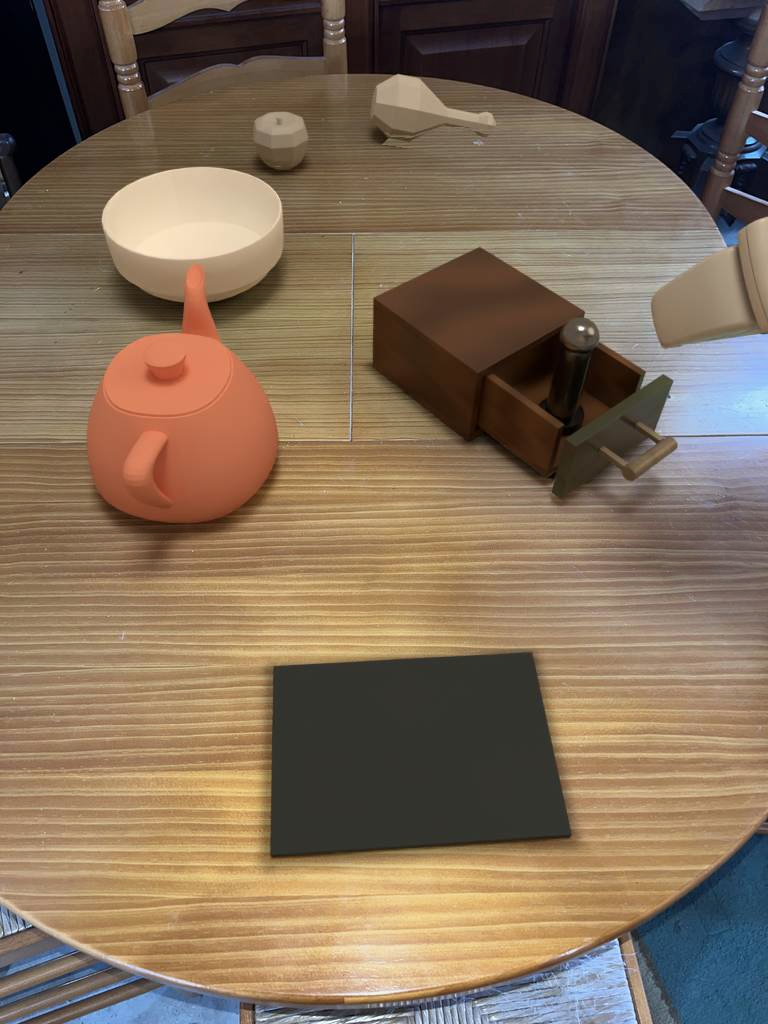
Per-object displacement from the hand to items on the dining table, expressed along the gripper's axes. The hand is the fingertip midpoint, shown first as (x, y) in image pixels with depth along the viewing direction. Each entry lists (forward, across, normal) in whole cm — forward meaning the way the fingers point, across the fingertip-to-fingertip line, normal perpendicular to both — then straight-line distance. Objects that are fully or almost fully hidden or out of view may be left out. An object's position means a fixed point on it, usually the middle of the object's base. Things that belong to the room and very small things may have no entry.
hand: (716, 331), depth 63 cm
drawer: (+17, +4, +5) cm, 18 cm away
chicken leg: (+56, -9, -47) cm, 73 cm away
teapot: (+28, +38, -1) cm, 47 cm away
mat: (+6, +29, +26) cm, 39 cm away
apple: (+57, +14, -44) cm, 73 cm away
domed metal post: (+18, +4, +3) cm, 18 cm away
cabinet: (+26, +8, -5) cm, 28 cm away
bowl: (+44, +30, -24) cm, 59 cm away
